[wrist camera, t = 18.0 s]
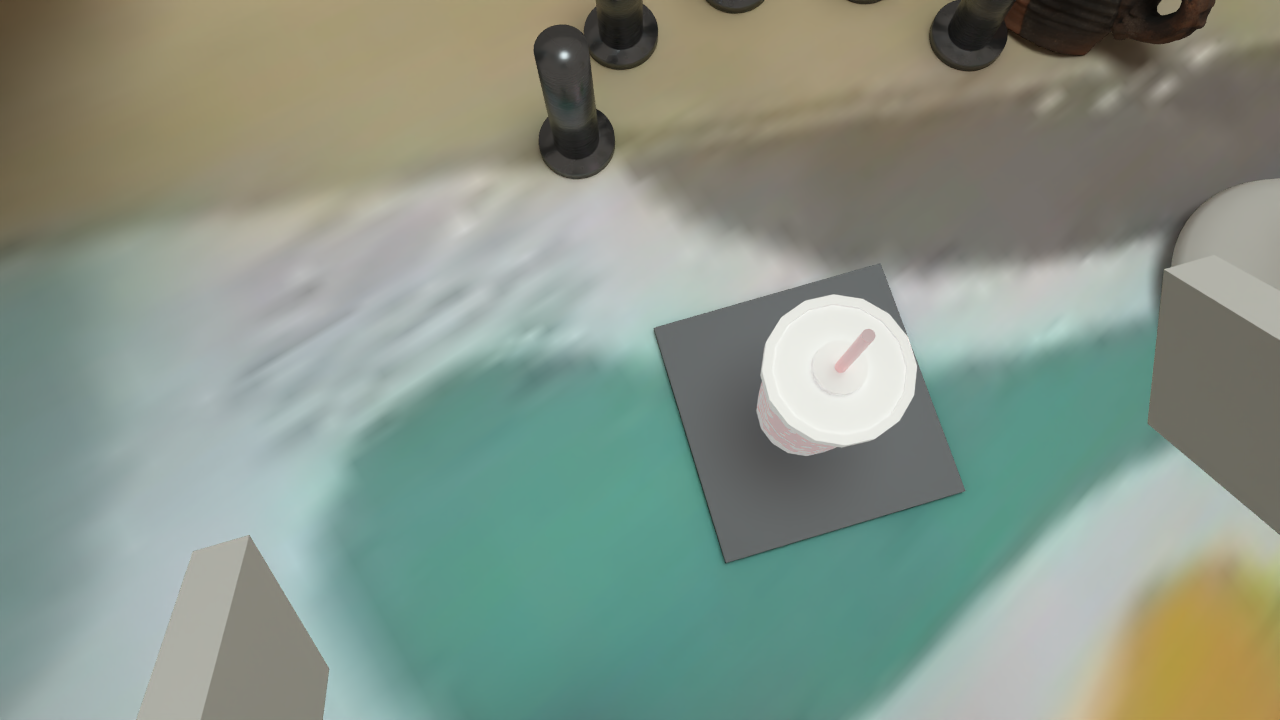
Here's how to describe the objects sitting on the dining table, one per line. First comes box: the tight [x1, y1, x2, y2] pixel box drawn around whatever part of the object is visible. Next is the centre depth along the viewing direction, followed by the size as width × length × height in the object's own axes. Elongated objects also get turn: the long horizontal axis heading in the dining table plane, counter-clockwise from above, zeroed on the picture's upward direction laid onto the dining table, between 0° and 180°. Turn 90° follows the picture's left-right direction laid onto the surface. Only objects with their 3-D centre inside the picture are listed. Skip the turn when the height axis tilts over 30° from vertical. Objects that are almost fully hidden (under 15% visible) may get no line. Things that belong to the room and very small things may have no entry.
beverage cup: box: [756, 294, 917, 456], centre depth 38 cm, size 6×6×14 cm
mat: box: [654, 264, 965, 563], centre depth 45 cm, size 12×12×1 cm
